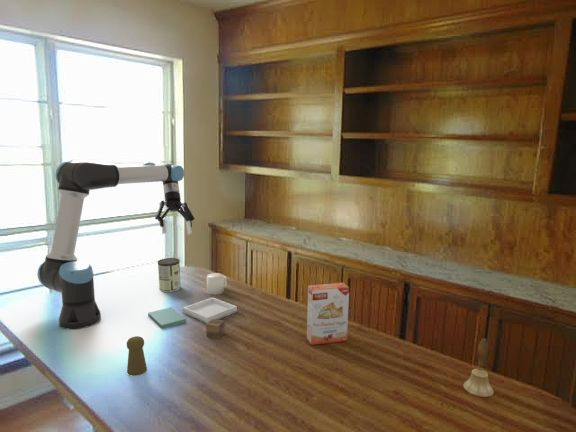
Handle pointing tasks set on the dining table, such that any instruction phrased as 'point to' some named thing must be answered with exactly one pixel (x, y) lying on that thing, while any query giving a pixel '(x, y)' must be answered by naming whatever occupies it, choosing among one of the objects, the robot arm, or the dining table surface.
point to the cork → (136, 356)
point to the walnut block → (215, 328)
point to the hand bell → (479, 375)
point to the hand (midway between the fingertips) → (177, 233)
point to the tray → (209, 310)
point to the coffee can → (169, 274)
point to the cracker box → (327, 313)
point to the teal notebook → (166, 317)
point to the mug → (216, 283)
